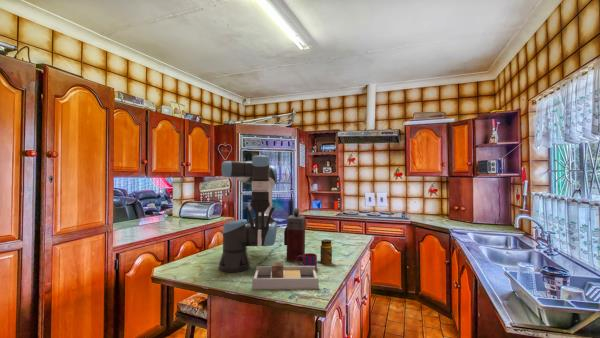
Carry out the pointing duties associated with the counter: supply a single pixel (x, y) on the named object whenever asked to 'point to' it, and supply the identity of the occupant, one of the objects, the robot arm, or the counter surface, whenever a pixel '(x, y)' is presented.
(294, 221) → the dark red tall piece
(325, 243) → the condiment
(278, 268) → the block
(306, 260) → the mug
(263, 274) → the box
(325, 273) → the counter surface
